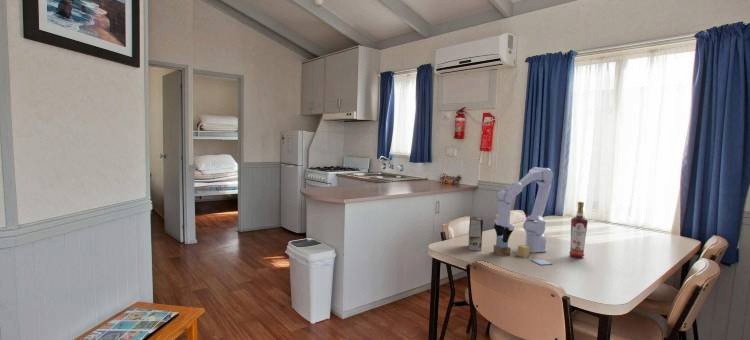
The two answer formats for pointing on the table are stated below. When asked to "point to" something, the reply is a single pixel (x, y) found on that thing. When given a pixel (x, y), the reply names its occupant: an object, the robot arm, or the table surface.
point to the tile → (541, 262)
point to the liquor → (578, 233)
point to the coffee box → (475, 233)
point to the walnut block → (502, 250)
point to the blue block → (501, 242)
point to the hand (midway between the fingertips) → (502, 240)
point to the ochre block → (523, 251)
